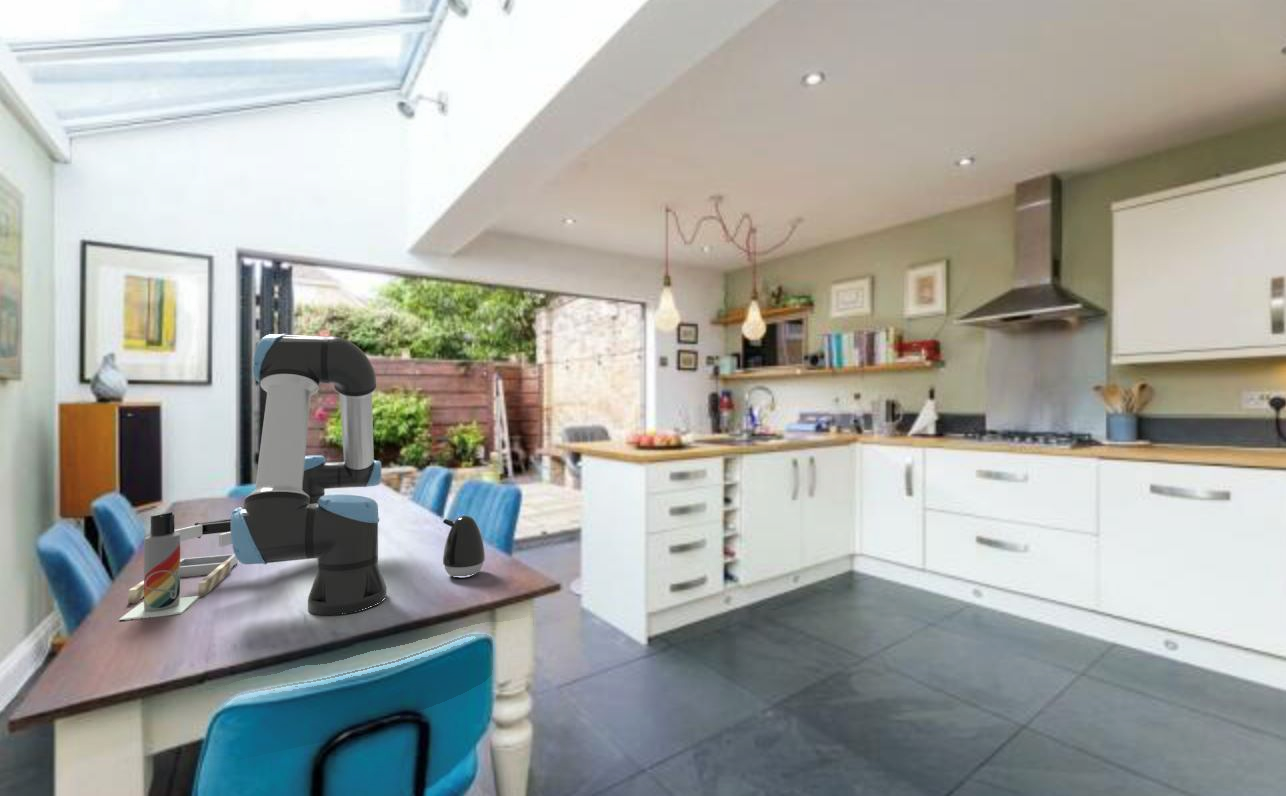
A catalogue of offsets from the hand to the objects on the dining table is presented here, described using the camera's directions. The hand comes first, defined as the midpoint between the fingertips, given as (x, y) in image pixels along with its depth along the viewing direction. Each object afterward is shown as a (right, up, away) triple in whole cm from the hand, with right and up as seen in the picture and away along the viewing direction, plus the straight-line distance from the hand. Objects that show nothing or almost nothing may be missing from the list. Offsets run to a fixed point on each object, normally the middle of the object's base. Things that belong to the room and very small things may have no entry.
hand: (195, 538), depth 120 cm
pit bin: (-14, -13, +19) cm, 27 cm away
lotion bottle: (-1, -13, -7) cm, 15 cm away
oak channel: (-8, -13, +6) cm, 17 cm away
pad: (-1, -13, -7) cm, 15 cm away
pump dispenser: (+55, -14, +16) cm, 59 cm away
